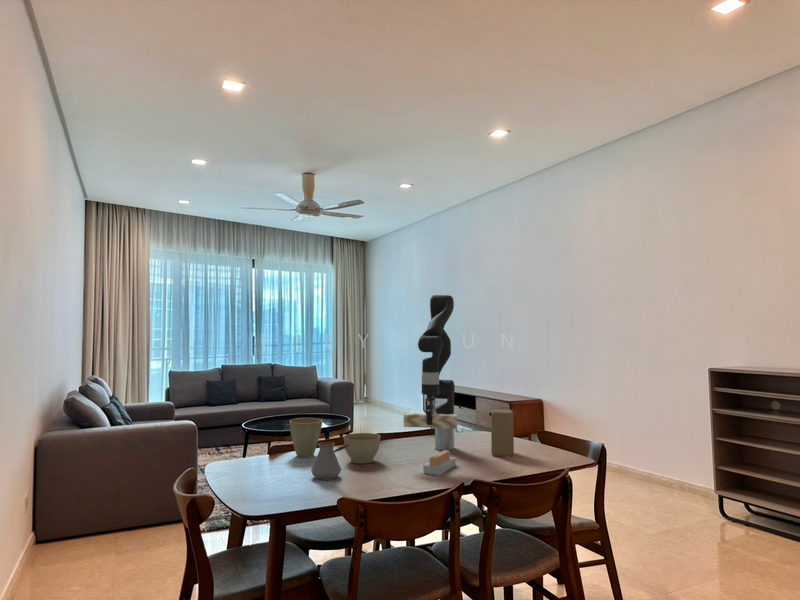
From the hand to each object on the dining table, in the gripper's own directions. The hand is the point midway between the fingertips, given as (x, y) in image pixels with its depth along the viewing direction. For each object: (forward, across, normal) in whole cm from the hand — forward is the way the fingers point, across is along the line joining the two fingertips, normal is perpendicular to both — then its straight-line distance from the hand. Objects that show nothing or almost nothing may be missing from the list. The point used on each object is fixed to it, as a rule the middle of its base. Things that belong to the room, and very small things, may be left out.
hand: (430, 423), depth 213 cm
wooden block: (+18, +30, -30) cm, 46 cm away
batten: (+1, 0, 0) cm, 1 cm away
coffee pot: (+19, -27, +34) cm, 47 cm away
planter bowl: (+18, +3, +30) cm, 36 cm away
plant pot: (+18, +8, +58) cm, 61 cm away
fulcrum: (+18, -2, -4) cm, 19 cm away
